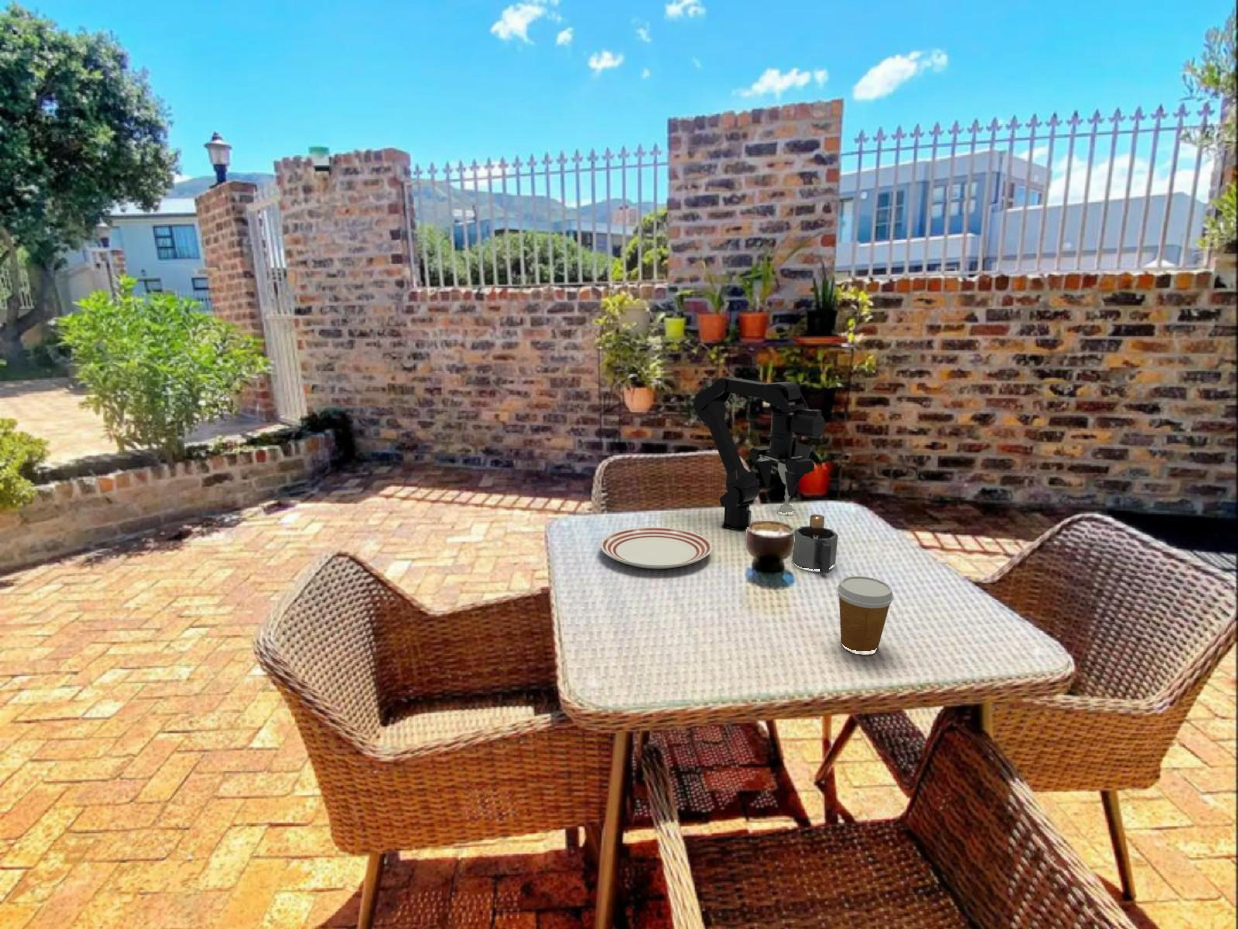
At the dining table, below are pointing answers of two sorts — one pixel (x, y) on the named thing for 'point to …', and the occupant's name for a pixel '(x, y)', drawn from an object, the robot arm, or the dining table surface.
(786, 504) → the chalice
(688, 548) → the dinner plate
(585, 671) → the dining table surface
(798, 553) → the press carafe
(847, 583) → the disposable coffee cup
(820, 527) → the plunger
